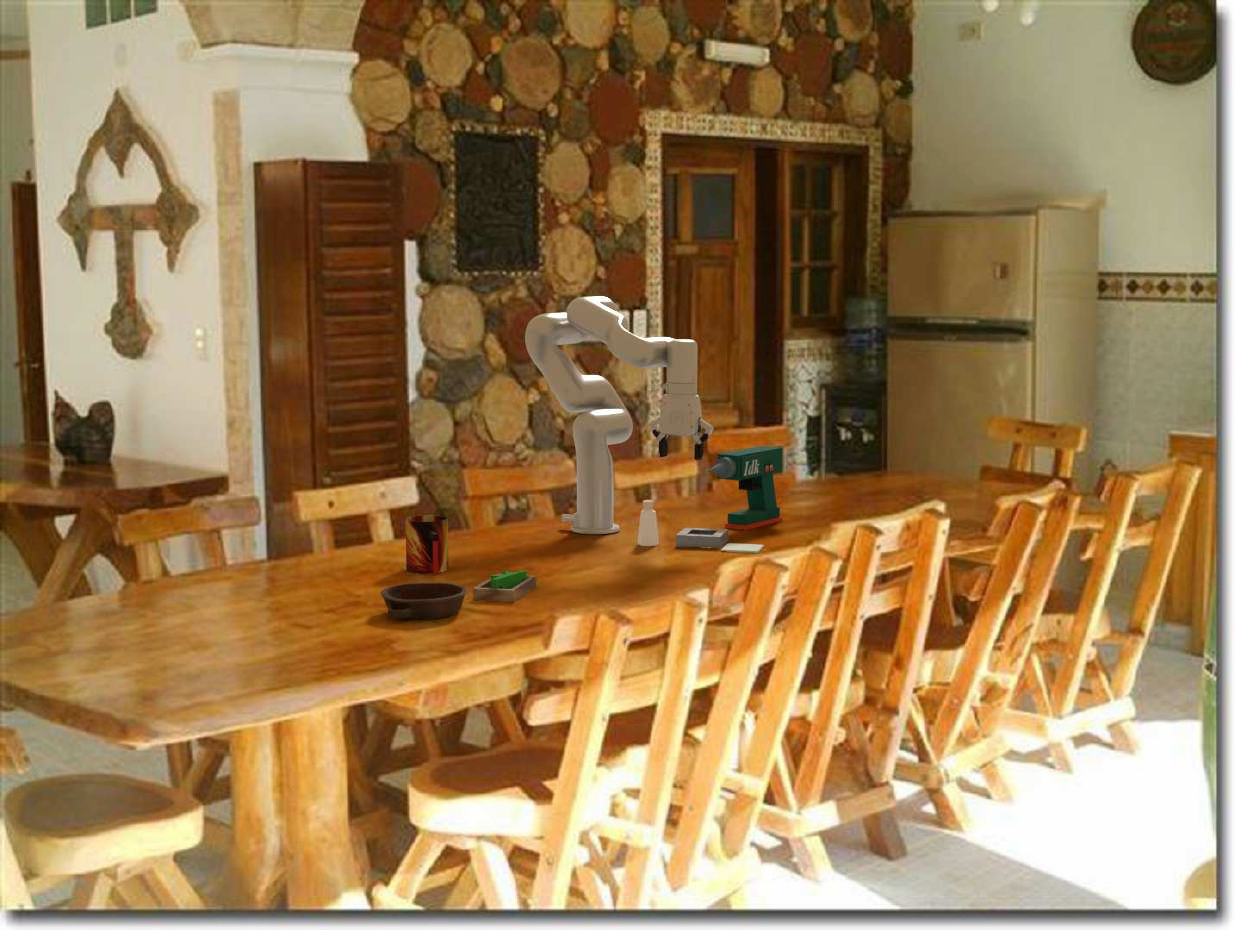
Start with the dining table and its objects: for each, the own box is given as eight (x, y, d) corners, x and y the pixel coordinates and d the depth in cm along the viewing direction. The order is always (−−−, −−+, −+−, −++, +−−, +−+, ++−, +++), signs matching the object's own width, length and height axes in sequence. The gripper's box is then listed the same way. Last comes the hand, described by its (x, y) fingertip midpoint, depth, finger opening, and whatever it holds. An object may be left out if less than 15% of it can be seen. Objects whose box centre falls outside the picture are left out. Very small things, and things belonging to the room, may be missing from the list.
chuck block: (675, 547, 414) (675, 535, 414) (685, 539, 425) (685, 527, 424) (719, 548, 411) (719, 536, 411) (728, 541, 422) (728, 529, 421)
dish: (356, 619, 336) (355, 595, 335) (422, 599, 354) (422, 576, 354) (426, 629, 327) (426, 604, 326) (490, 608, 346) (490, 584, 345)
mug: (435, 578, 376) (434, 525, 375) (397, 570, 386) (396, 518, 384) (468, 572, 383) (468, 520, 381) (430, 564, 393) (429, 513, 391)
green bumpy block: (513, 589, 365) (513, 568, 364) (527, 591, 363) (527, 570, 362) (482, 598, 355) (482, 577, 355) (496, 600, 353) (496, 578, 353)
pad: (721, 551, 408) (721, 549, 408) (727, 545, 416) (727, 543, 416) (757, 553, 405) (757, 551, 405) (763, 546, 414) (763, 544, 414)
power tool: (718, 537, 427) (718, 459, 425) (695, 534, 432) (696, 457, 429) (784, 521, 453) (785, 447, 450) (762, 518, 457) (762, 445, 454)
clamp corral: (473, 600, 353) (472, 588, 352) (497, 585, 368) (497, 573, 368) (513, 602, 350) (513, 590, 350) (536, 587, 366) (536, 575, 366)
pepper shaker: (633, 544, 417) (632, 501, 416) (646, 541, 422) (646, 498, 420) (650, 547, 414) (650, 503, 413) (663, 544, 418) (663, 500, 417)
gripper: (643, 388, 416) (643, 457, 418) (706, 392, 408) (705, 462, 410) (657, 386, 422) (656, 453, 425) (719, 390, 414) (718, 458, 417)
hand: (680, 458), depth 417 cm, fingers open, 9 cm apart
